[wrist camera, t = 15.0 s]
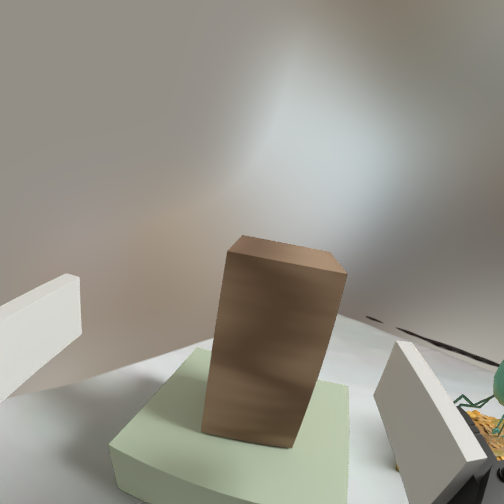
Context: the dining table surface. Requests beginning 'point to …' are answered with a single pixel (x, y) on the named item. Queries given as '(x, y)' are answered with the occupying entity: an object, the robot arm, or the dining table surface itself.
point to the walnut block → (270, 339)
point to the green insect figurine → (493, 430)
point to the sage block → (230, 450)
